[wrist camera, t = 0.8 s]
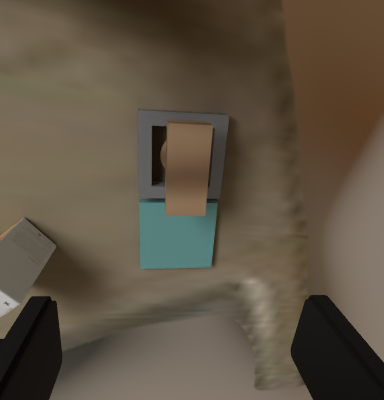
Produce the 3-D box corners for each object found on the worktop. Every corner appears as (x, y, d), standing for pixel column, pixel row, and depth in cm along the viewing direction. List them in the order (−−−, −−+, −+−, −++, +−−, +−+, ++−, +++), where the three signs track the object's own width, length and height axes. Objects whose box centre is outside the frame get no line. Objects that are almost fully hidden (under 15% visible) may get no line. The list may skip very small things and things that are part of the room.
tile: (139, 199, 34) (139, 202, 33) (216, 200, 36) (217, 203, 35) (140, 264, 38) (140, 268, 37) (209, 263, 39) (211, 267, 38)
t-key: (160, 114, 31) (162, 122, 23) (203, 117, 31) (218, 125, 24) (159, 188, 34) (160, 216, 27) (198, 189, 35) (209, 216, 27)
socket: (138, 109, 30) (137, 110, 28) (225, 113, 31) (229, 115, 30) (139, 192, 34) (138, 198, 32) (217, 193, 35) (220, 198, 33)
